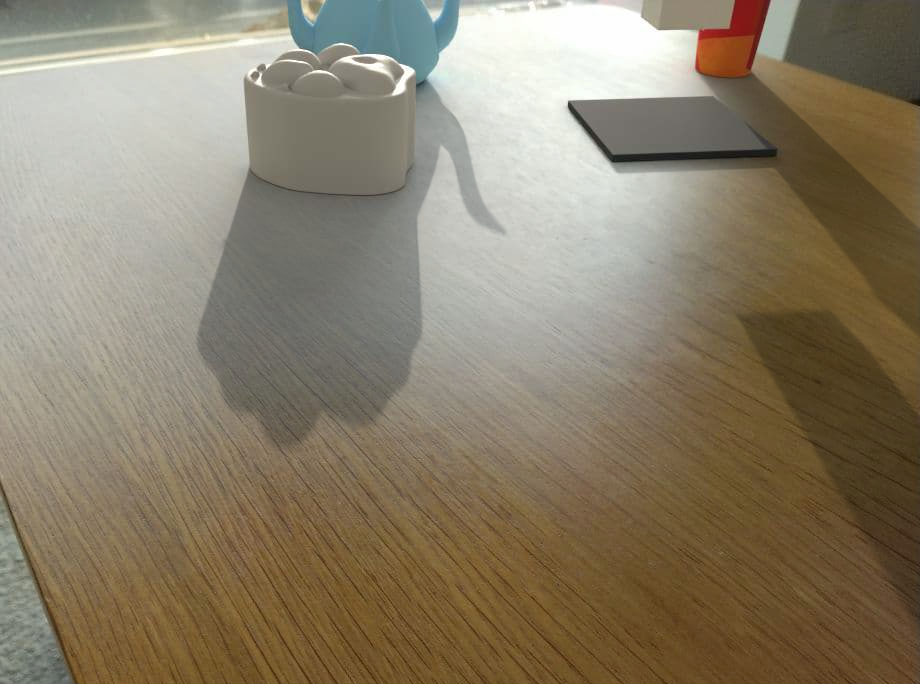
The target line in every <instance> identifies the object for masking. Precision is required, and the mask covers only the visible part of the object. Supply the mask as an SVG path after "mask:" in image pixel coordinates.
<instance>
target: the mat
mask: <svg viewBox="0 0 920 684" xmlns="http://www.w3.org/2000/svg"><path fill="white" fill-rule="evenodd" d="M567 108H568V109H569V111H571V112H572V114H573V115H574V116H575V118H576V119H577V120H578V122H579V123H580V124H581V126H583V128H584V129H585V130H586V131H587V133H588V134H589V135H590V136H591V138H592V139H593V140H594V141H595V143H596V144H597V145H598V146H599V147H600V149H601V150H602V151H603V152H604V153H605V155H606V157H608V159H609V160H611V162H612V163H614V162H639V161H665V160H667V161H670V160H694V159H720V158H721V159H722V158H748V157H751V158H752V157H775V156H777V155H778V154H777V153H778V150H779V148H778V147H776V146H775V145H774V144H773V143H772V142H770V141H769V140H768V139H767V138H765V137H764V136H763V135H761V134H760V133H759V132H758V131H757V130H755V129H754V128H753V127H752V126H750V124H748V123H747V122H745V120H743V119H742V118H741V117H740V116H738V115H737V114H736V113H735V112H733V111H732V110H731V109H730V108H729V107H727V106H726V105H725V104H723V102H721V101H720V100H719V99H718V98H716V97H715V96H714V95H702V96H701V95H700V96H670V97H667V96H665V97H664V96H663V97H637V98H633V97H632V98H606V99H605V98H604V99H602V98H601V99H574V100H573V99H570V100H569V99H568V101H567Z"/></svg>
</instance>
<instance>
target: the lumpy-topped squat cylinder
mask: <svg viewBox="0 0 920 684" xmlns="http://www.w3.org/2000/svg"><path fill="white" fill-rule="evenodd" d="M243 89H244V90H243V91H244V104H245V117H246V119H245V122H246V133H247V146H248V157H249V158H248V160H249V168H250V170H251V172H252V173H253V174H254V175H255V176H256V177H258V179H260V180H263V181H265V182H268V183H270V184H272V185H275V186H278V187H281V188H284V189H287V190H292V191H296V192H297V191H298V192H305V193H314V194H315V193H317V194H326V195H327V194H328V195H345V196H346V195H348V196H349V195H350V196H375V195H376V196H377V195H384V194H390V193H393V192H396V191H399V190H400V189H402V188H403V187H404V186H405V185H406V178H407V177H406V175H407V173H408V171H409V170H410V169H411V168H412V166H413V165H414V163H415V140H416V139H415V135H416V129H415V127H416V102H417V101H416V99H417V98H416V97H417V85H416V73H415V71H414V70H413V69H412V68H410V67H408V66H405V65H401V64H399V63H398V62H397V61H395V60H394V59H393V58H391V57H388V56H384V55H361V54H360V53H359V51H358V50H357V49H356V48H355V47H353V46H351V45H348V44H335V45H332V46H330V47H328V48H326V49H324V50H322V51H321V52H320V53H319V54H318V55H317V56H315V55H314V54H313V53H312V52H310V51H307V50H301V49H300V48H298V49H295V48H294V49H290V50H287V51H285V52H283V53H281V54H280V55H279V56H278V57H277V58H276V59H275V60H274V61H273V62H272V63H268V64H265V63H263V62H262V63H260V64H259V65H258V66H257V67H254V68H252V69H250V70H248V71H247V72H246V73H245V75H244V77H243Z"/></svg>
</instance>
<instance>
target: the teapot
mask: <svg viewBox="0 0 920 684" xmlns="http://www.w3.org/2000/svg"><path fill="white" fill-rule="evenodd" d="M460 1H461V0H444V5H443V8H442V11H441V12H440V14H439V15H438V17H436V18H435V19H434V20H433V18H432V16H431V14H430V11H429V9H428V7H427V6H426V4H425V2H424V0H324V2H323V4H322V6H321V7H320V8H319V11H318V13H317V15H316V18H315V19H314V22H313V23H312V22H311V21H309V19H308V18H307V16H305V13H304V9H303V4H302V0H286V6H287V18H288V27H289V31H290V35H291V38H292V40H293V42H294V43H295V44H296V46H297V47H298V49H301V50H307V51H310V52H312V53H313V54H314V55H315V56H317V55H318V54H319V53H320V52H321V51H322V50H324V49H326V48H328V47H330V46H332V45H335V44H348V45H351V46H353V47H355V48H356V49H357V50H358V51H359V53H360V54H361V55H384V56H388V57H391V58H393V59H394V60H395V61H397V62H398V63H399V64H401V65H405V66H408V67H410V68H412V69H413V70H414V71H415V73H416V86H417V85H419V84H421V83H423V82H424V81H425V80H426V78H428V76H430V74H431V73H432V72H433V71H434V69H435V68H436V67H437V65H438V63H439V60H440V54H441V52H443V50H445V49H446V48H448V47H449V46H450V44H451V43H452V41H453V39H454V38H455V35H456V32H457V30H458V25H459V18H460Z"/></svg>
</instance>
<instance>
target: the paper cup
mask: <svg viewBox="0 0 920 684" xmlns="http://www.w3.org/2000/svg"><path fill="white" fill-rule="evenodd" d="M771 1H772V0H735V2H734V7H733V12H732V17H731V22H730V27H729V29H698V32H697V42H696V50H695V59H694V69H695V70H696V71H697V72H698V73H700V74H703V75H706V76H711V77H718V78H742V77H745V76H748V75H749V74H750V73H751V72H752V68H753V65H754V62H755V58H756V55H757V52H758V49H759V45H760V41H761V38H762V34H763V30H764V26H765V23H766V21H767V20H766V19H767V16H768V13H769V9H770V5H771Z"/></svg>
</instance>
